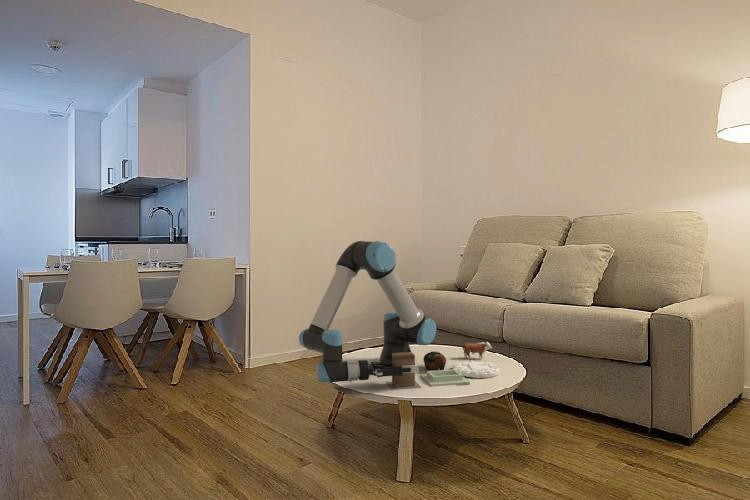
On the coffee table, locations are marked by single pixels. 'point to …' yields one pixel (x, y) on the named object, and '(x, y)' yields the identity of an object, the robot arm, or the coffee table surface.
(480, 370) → the white textured flat disc
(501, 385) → the coffee table surface
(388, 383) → the mat
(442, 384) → the tray
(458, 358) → the coffee table surface
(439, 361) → the decorative turtle
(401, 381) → the brown wooden block
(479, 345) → the bull figurine
